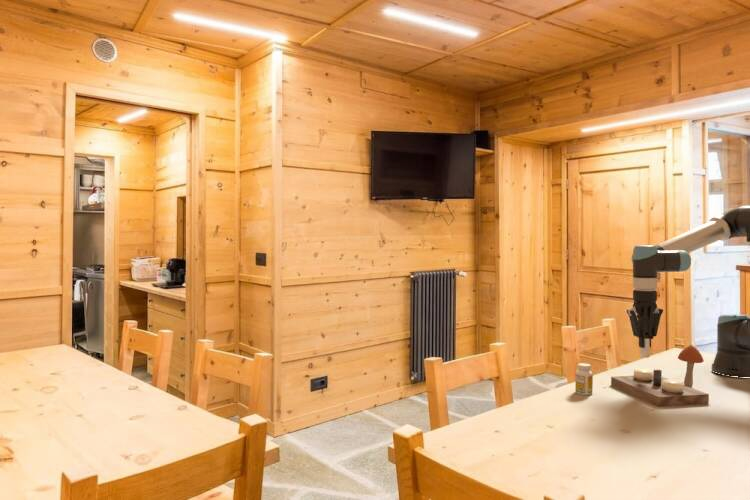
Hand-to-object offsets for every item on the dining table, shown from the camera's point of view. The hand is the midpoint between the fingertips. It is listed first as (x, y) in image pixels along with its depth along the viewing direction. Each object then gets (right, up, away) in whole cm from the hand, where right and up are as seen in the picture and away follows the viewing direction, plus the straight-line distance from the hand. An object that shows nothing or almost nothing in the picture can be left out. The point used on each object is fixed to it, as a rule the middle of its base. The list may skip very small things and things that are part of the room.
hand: (644, 356), depth 186 cm
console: (+1, -11, -7) cm, 13 cm away
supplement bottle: (-24, -11, -6) cm, 27 cm away
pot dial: (+1, -8, -7) cm, 11 cm away
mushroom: (+17, -11, +1) cm, 20 cm away
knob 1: (0, -11, 0) cm, 11 cm away
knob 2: (+2, -11, -13) cm, 18 cm away
